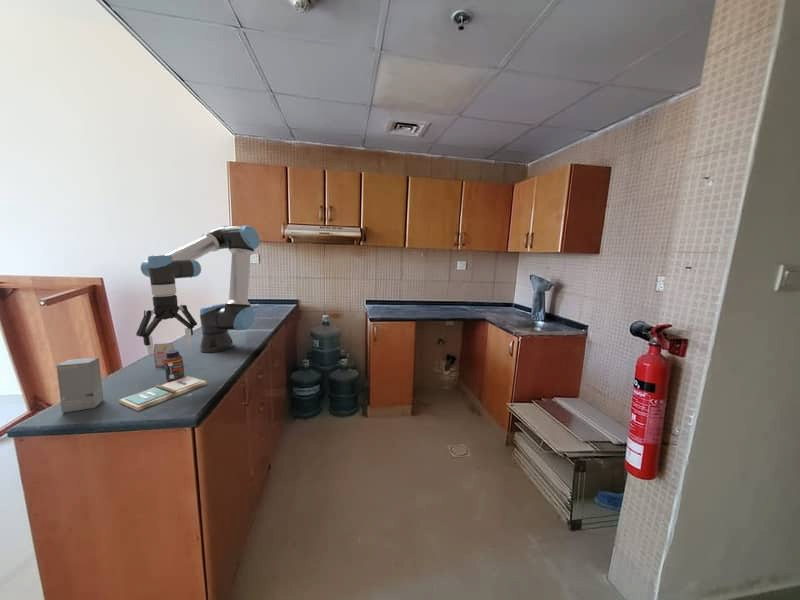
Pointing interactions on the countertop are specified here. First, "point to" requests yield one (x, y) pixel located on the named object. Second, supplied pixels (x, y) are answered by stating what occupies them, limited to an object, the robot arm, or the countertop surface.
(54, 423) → the countertop surface
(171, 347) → the white product box
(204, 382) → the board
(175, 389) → the cream pad
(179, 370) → the supplement bottle
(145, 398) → the teal pad
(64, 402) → the skincare box
